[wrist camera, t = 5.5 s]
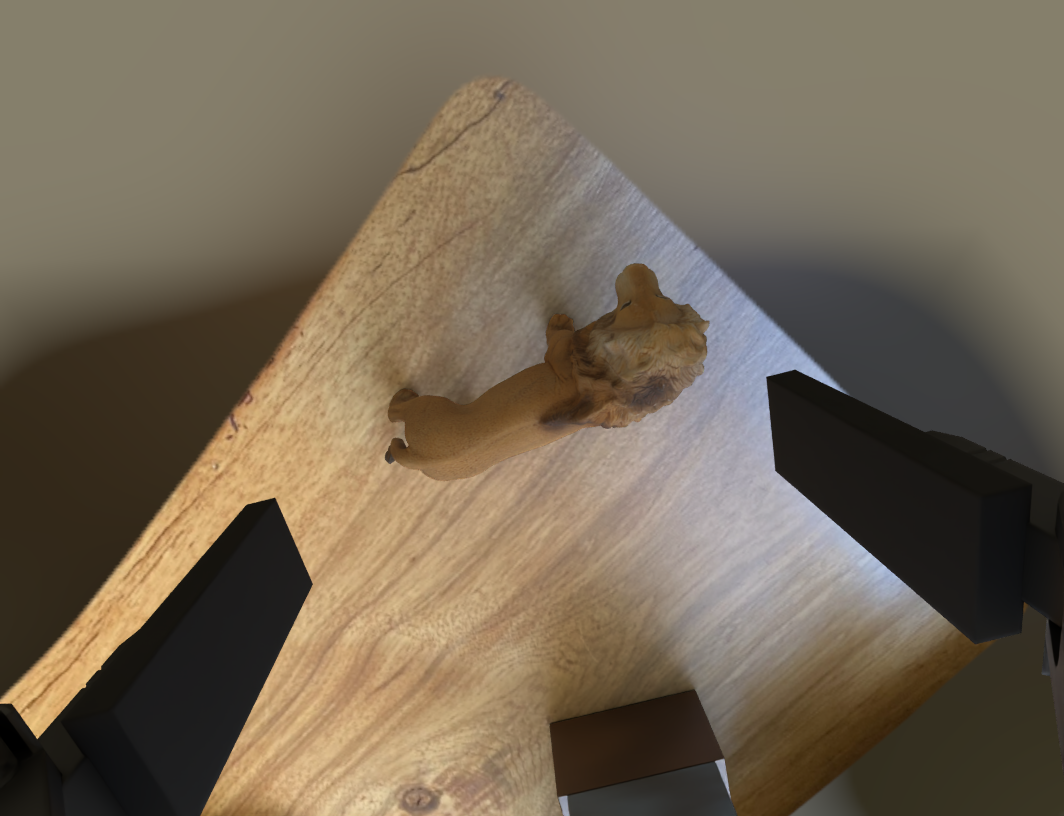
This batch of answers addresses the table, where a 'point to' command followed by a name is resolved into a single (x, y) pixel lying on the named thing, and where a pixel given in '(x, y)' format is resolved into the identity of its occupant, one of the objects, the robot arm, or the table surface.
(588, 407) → the lion figurine
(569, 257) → the table surface
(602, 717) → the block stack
